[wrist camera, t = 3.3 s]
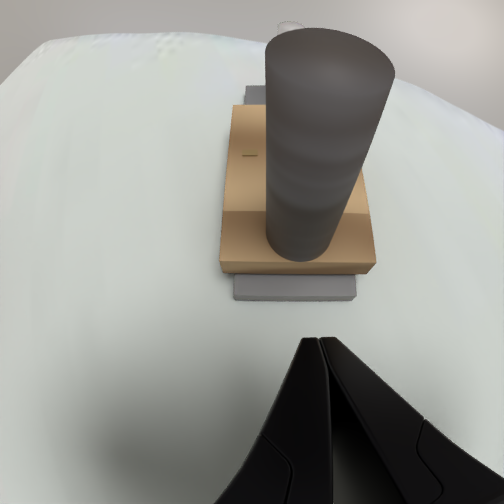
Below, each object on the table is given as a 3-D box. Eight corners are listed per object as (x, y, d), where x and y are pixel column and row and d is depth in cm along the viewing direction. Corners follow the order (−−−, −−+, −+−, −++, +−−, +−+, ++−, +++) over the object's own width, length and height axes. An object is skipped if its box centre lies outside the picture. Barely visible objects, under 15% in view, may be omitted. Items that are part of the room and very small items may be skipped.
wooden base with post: (366, 274, 15) (483, 119, 5) (223, 273, 15) (163, 95, 6) (343, 126, 19) (375, -22, 9) (235, 123, 19) (218, -32, 9)
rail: (351, 300, 16) (404, 246, 9) (235, 300, 16) (215, 243, 10) (325, 97, 22) (337, 20, 15) (246, 95, 22) (241, 17, 16)
